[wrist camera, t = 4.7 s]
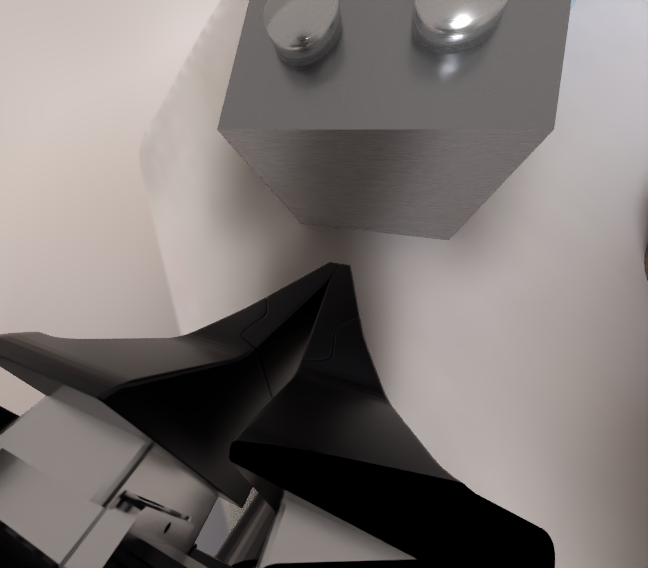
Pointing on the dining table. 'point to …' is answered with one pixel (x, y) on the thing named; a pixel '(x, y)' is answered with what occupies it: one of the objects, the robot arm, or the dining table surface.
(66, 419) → the robot arm
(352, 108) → the engine block
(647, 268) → the walnut wheel
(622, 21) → the dining table surface
